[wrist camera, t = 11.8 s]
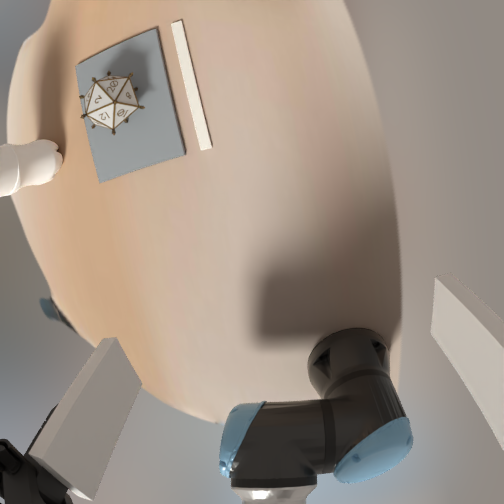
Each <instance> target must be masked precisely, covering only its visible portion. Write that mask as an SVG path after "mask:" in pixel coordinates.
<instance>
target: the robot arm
mask: <svg viewBox="0 0 504 504" xmlns="http://www.w3.org/2000/svg"><path fill="white" fill-rule="evenodd" d="M431 334H432V336H433V337H434V339H435V340H436V342H437V343H438V344H439V346H440V347H441V349H442V350H443V352H444V353H445V355H446V356H447V357H448V359H449V360H450V362H451V363H452V365H453V366H454V368H455V369H456V371H457V373H458V374H459V375H460V377H461V379H462V380H463V382H464V383H465V385H466V387H467V388H468V389H469V391H470V393H471V394H472V396H473V398H474V399H475V401H476V403H477V404H478V406H479V408H480V409H481V411H482V413H483V415H484V416H485V418H486V420H487V422H488V423H489V425H490V427H491V428H492V430H493V432H494V434H495V436H496V438H497V440H498V442H499V443H500V445H501V447H502V449H503V450H504V322H503V320H502V319H501V318H499V317H498V316H497V315H496V314H495V313H494V312H493V311H492V310H491V309H490V308H489V307H488V306H487V305H486V304H485V303H484V302H483V301H482V300H481V299H480V298H479V297H477V296H476V295H475V294H474V293H473V292H472V291H471V290H470V289H468V287H466V286H465V285H464V284H463V283H462V282H461V281H460V280H458V279H457V278H456V277H455V276H454V275H453V274H451V273H447V274H444V275H440V276H437V277H435V289H434V304H433V316H432V326H431ZM308 374H309V379H310V382H311V384H312V385H313V387H314V388H315V390H316V391H317V393H318V394H319V396H320V397H321V399H319V400H306V401H289V402H267V401H262V402H261V403H243V404H239V405H237V406H235V407H234V408H233V409H232V410H231V412H230V414H229V416H228V418H227V420H226V423H225V427H224V431H223V435H222V440H221V446H220V454H219V458H220V464H219V469H220V473H221V475H223V476H225V477H227V478H231V489H232V490H233V491H234V492H235V493H236V494H237V495H239V496H240V497H241V499H242V504H306V498H307V496H308V495H309V494H310V493H311V492H312V491H313V490H314V489H315V488H316V487H317V474H325V473H334V476H335V477H336V479H337V480H338V481H339V482H342V483H346V482H347V483H357V482H362V481H365V480H369V479H371V478H374V477H376V476H379V475H381V474H383V473H385V472H386V471H388V470H390V469H391V468H393V467H394V466H396V465H397V464H398V463H399V462H400V461H402V460H403V459H404V458H405V457H406V455H407V454H408V453H409V451H410V450H411V448H412V445H413V435H412V431H411V428H410V422H409V419H408V418H407V417H406V414H405V412H404V409H403V407H402V405H401V402H400V400H399V397H398V395H397V393H396V390H395V388H394V386H393V384H392V381H391V379H390V355H389V350H388V348H387V346H386V344H385V342H384V340H383V338H382V337H381V336H380V335H379V334H377V333H376V332H374V331H371V330H368V329H362V328H353V329H347V330H343V331H340V332H337V333H335V334H332V335H331V336H329V337H327V338H326V339H324V340H323V341H322V342H320V343H319V344H318V345H317V346H316V347H315V349H314V350H313V351H312V353H311V355H310V357H309V360H308ZM141 386H142V382H141V380H140V379H139V377H138V375H137V374H136V372H135V370H134V368H133V367H132V365H131V363H130V361H129V360H128V358H127V356H126V354H125V353H124V351H123V349H122V347H121V345H120V343H119V341H118V339H117V338H116V337H115V338H104V339H102V341H101V342H100V344H99V345H98V346H97V348H96V349H95V351H94V352H93V353H92V355H91V356H90V358H89V359H88V361H87V362H86V364H85V365H84V366H83V368H82V369H81V371H80V372H79V374H78V375H77V377H76V378H75V380H74V381H73V383H72V384H71V386H70V387H69V389H68V390H67V392H66V393H65V395H64V396H63V398H62V399H61V401H60V403H59V404H58V405H56V406H55V407H54V408H53V409H52V410H51V412H50V413H49V415H48V417H47V418H46V421H44V423H43V425H42V426H41V427H42V428H40V430H39V431H38V433H37V435H36V436H35V438H34V439H33V441H32V443H31V444H30V446H29V448H28V450H27V451H26V453H25V454H24V456H23V455H22V454H21V453H20V452H19V451H18V450H17V449H16V448H15V447H14V446H13V445H12V444H11V443H10V442H9V441H8V440H7V439H0V497H2V498H3V499H4V500H5V504H73V503H72V500H71V498H70V496H69V495H68V494H67V493H66V492H67V490H68V489H70V490H71V491H72V492H73V493H75V494H76V495H77V496H79V497H82V498H85V499H88V500H91V501H93V500H94V498H95V495H96V493H97V490H98V488H99V485H100V483H101V480H102V477H103V475H104V472H105V470H106V467H107V465H108V462H109V460H110V458H111V455H112V453H113V450H114V448H115V445H116V443H117V441H118V438H119V436H120V433H121V431H122V429H123V427H124V424H125V422H126V420H127V417H128V415H129V413H130V410H131V408H132V406H133V404H134V401H135V399H136V397H137V394H138V392H139V390H140V388H141ZM0 504H1V503H0Z"/></svg>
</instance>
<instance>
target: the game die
mask: <svg viewBox="0 0 504 504" xmlns="http://www.w3.org/2000/svg"><path fill="white" fill-rule="evenodd" d="M110 74H111V72H110V71H108V72H107V75H108V76H106V77H104V78H102V79H99V80H96V78H95V77H92V81H93V82H94V84H93V85H92V86H91V88H90V89H89V91H88V92H87V94H86V95H85V96H84V95H81V96H79V97H80V99H83V98H84V103H85V114H83V115H82V116H81V118H83V119H84V118H85V117H86V116H87V117H88V118H89V119H90V120H91V121H92V122H93V123H94V124H93V125H92V126H91V127H92V129H93V128H95V127H96V125H97V126H101V127H105V128H108V129H112V134H113V135H115V133H116V132H115V128H117V127H118V126H119V125H120V124H121V123H122V122H123V121H124V122H125V123H128V120H127V118H128V117H129V116H130V115H131V114H132V113H133V112H135V111H136V110H137V109H138V108H140V109H144V108H145V107H144V105H143V106H142V105H141V106H140V105H139V103H138V100H137V97H136V94H135V91H137V90H138V88H133V85H132V82H131V80H130V77H132V76H133V72H132V73H130V74H129V76H128V77H125V76H112V75H110Z"/></svg>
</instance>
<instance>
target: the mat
mask: <svg viewBox="0 0 504 504" xmlns="http://www.w3.org/2000/svg"><path fill="white" fill-rule="evenodd" d="M75 67H76V74H77V81H78V87H79V94H80V96H81V95H84V96H85V95H86V94H87V92H88V91H89V89H90V88H91V86H92V85H93V84H94V82H93V81H92V77H95V78H96V80H99V79H102V78H104V77H106V76H108V75H107V72H108V71H110V72H111V74H110V75H112V76H125V77H128V76H129V74H130V73H132V72H133V76H132V77H130V80H131V82H132V85H133V88H138V90H137V91H135V94H136V97H137V100H138V103H139V105H140V106H141V105H142V106H143V105H144V107H145V108H144V109H140V108H138V109H137V110H136V111H135V112H133V113H132V114H131V115H130V116H129V117H128V118H127V120H128V123H125V122H124V121H123V122H122V123H121V124H120V125H119V126H118V127H117V128H115V132H116V133H115V135H113V134H112V129H108V128H105V127H101V126H97V125H96V127H95V128H93V129H92V127H91V126H92V125H93V124H94V123H93V122H92V121H91V120H90V119H89V118H88V117H87V116H86V117H85V118H84V120H85V125H86V130H87V134H88V139H89V143H90V147H91V152H92V156H93V160H94V164H95V167H96V171H97V175H98V179H99V182H100V183H102V182H105V181H107V180H110V179H113V178H116V177H118V176H121V175H124V174H127V173H130V172H133V171H136V170H139V169H142V168H145V167H148V166H151V165H154V164H157V163H160V162H163V161H167V160H170V159H173V158H177V157H180V156H183V155H186V153H185V149H184V145H183V141H182V137H181V133H180V129H179V125H178V120H177V116H176V112H175V108H174V104H173V99H172V95H171V91H170V86H169V82H168V78H167V73H166V69H165V64H164V59H163V55H162V50H161V45H160V40H159V36H158V31H157V29H153V30H150V31H148V32H145V33H143V34H140V35H138V36H136V37H133V38H131V39H129V40H126V41H124V42H122V43H120V44H118V45H115V46H113V47H111V48H109V49H107V50H105V51H103V52H101V53H99V54H97V55H95V56H93V57H91V58H90V59H88V60H86V61H84V62H82V63H80V64H79V65H77V66H75ZM81 105H82V110H83V114H85V103H84V98H83V99H81Z"/></svg>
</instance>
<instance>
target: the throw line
mask: <svg viewBox="0 0 504 504" xmlns="http://www.w3.org/2000/svg"><path fill="white" fill-rule="evenodd" d="M171 26H172V30H173V35H174V39H175V44H176V48H177V53H178V57H179V62H180V66H181V70H182V75H183V79H184V83H185V88H186V92H187V96H188V100H189V104H190V109H191V113H192V117H193V121H194V125H195V129H196V133H197V137H198V141H199V145H200V149H201V150H205V149H209V148H212V145H211V141H210V137H209V133H208V128H207V124H206V120H205V116H204V112H203V108H202V104H201V100H200V96H199V91H198V87H197V83H196V79H195V75H194V70H193V66H192V62H191V58H190V54H189V49H188V45H187V41H186V36H185V32H184V28H183V23H182V21H178V22H175V23H172V24H171Z"/></svg>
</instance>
